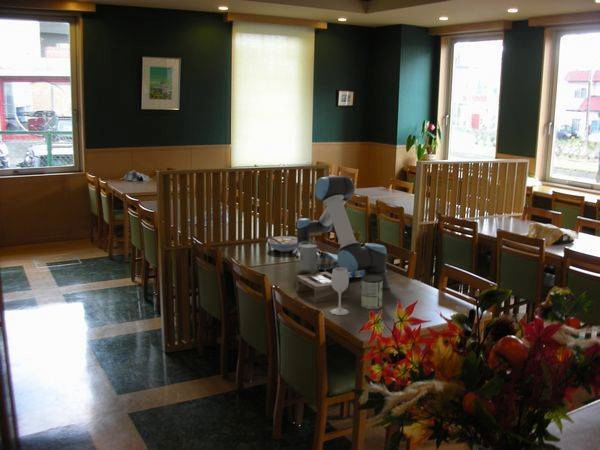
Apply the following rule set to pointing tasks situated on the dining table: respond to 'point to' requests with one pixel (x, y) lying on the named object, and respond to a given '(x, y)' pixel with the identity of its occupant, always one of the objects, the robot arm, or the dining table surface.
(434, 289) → the dining table surface
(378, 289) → the coffee can
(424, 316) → the dining table surface
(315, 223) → the robot arm
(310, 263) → the gray cylinder
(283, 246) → the ramen bowl
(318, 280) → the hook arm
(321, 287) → the shelf
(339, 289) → the wineglass
